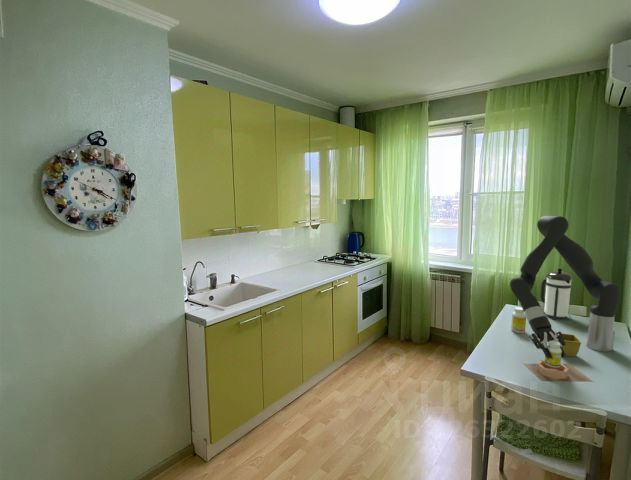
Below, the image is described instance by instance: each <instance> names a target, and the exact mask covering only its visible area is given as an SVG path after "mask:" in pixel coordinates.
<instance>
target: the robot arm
mask: <svg viewBox="0 0 631 480" xmlns="http://www.w3.org/2000/svg"><path fill="white" fill-rule="evenodd" d="M536 225H537V230H538V231H539V232H540V234H541V235H542V236H543V237H544V238H543V239H542V241H541V242H540V243H539V244H538V245H537V246H536V247H535V248H533V249H532V250H531V251H530V252H529V253H528V254H527V256H526V257H525V259H524V261H523V262H522V265H521V267H520V277H519V276H518V277H517V276H515V277H512V278H511V280H510V283H509V287H510V289H511V291H512V293H513V295H514V296H515V298H516V299H517V300H518V302H519V304H520V307H521V308H522V309H523V311H524V313H525V316H526V321H527V322H528V324H529V326H530V329H531V330H532V332H533V333H531V334H530V335H529V336H528V337H529V338H530V340H531V341H532V344H533V345H534V346H535V347H536V349H537V350H538V349H540V350H541V351H542V352H543V353H544V356H546V357H547V358H548V359H550V358H552V355H551V353H550V351H549V349H548V348H547V346H548V343H549V341H553V340H554V341H556V342H559V343H560V349H561V350H562V353H561V359H563V358H565V357H566V356H565V352H564V350H563V348H562V346H564V345H565V342H564V339H563V336H562V333H563V332H561V331H558V332H557V331H554V330H553V329H552V328H553V327H552V324H551V322H550V319H549V318H548V316H547V314H546V313H545V312H544V311H543V310H544V308H542V306H541V304H540V302H539V300H538V299H537V297H536V296H535V295H534V294H533V293H532V290H533V288H534V285H535V282H536V278H537V275H538V273H539V271H540V270H541V268H542V267H543V264H544V262H545V261H546V259H547V257H548V256H549V255H550V253H551V252H552V251H553V249H554V248H555V249H556V251H557V253H558V254H559V255H560V256H561V257H562V258H563V260H564V262H565V263H566V265H568V266H569V267H570V268H571V270H572V271H573V272H574V273H575V275H576V276H577V278H579V279H580V281H581V282H582V284H583V286H584V287H585V289H586V290H587V292H588V293H589V294H590V296H592V297H593V298H595V299H597V300H598V304H595V305H591V307H590V308H589V318H588V319H589V320H588V329H587V339H586V346H587V347H588V348H590V349H592V350H594V351H597V352H604V353H605V352H607V353H608V352H610V351H614V344H615V337H616V336H615V335H616V331H615V330H614V326H615V317H616V314H617V313H616V312H617V311H618V309H619V305H620V304H619V303H620V300H621V299H620V298H621V288H620V287H619V285H618V284H617V283H613V282H609V281H606V280H604V279H602V278H601V277H600V276H599V275H598V273H596V272H595V269H594V260H593V259H592V257H591V256H590V255H589V253H588V251H586V249H585V248H584V247H582V246H581V245H580V244H579V243H577V242H576V241H574V240H573V239H571V238H570V237H569V236H567V235H566V232H567V231H568V229H569V221H568V220H567V218H566V217H564V216H561V215H560V216H559V215H543V216H541V217H540V218H538V220H537V222H536Z"/></svg>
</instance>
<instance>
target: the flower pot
mask: <svg viewBox="0 0 631 480" xmlns="http://www.w3.org/2000/svg"><path fill="white" fill-rule="evenodd" d="M561 333H562V336H563V339H564V342H565V345H564V346H562V348H563V350H564V352H565V357H576V356H578V353H579V352H580V348H581V345H582V341H581V340H580V339H579V338H578V337H577V336H576V335H575V334H570V333H563V332H561ZM553 341H554V340H553Z"/></svg>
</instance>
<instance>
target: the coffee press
mask: <svg viewBox="0 0 631 480" xmlns="http://www.w3.org/2000/svg"><path fill="white" fill-rule="evenodd" d="M545 277H546V279H543V281H542V282H541V286H540V287H541V288H540V289H541V290H540V300H541V302H542V303H543V311H544V312H545V314H546V315H548V316H552V317H553V318H552V320H553V321H557V318H567V320H571V319H572V317H571V315H570V314H569V312H570V305H571V303H570V302H571V296H572V295H571V293H572V286H573V285H572V281H573V277H572V275H571V274H570V273H568V272H565V271H563V269H562V268H561V267H559V268H557V271H556V270H555V271H554V270H553V271H549V272H548V273H547V274H546V276H545ZM568 316H569V317H568Z"/></svg>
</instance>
